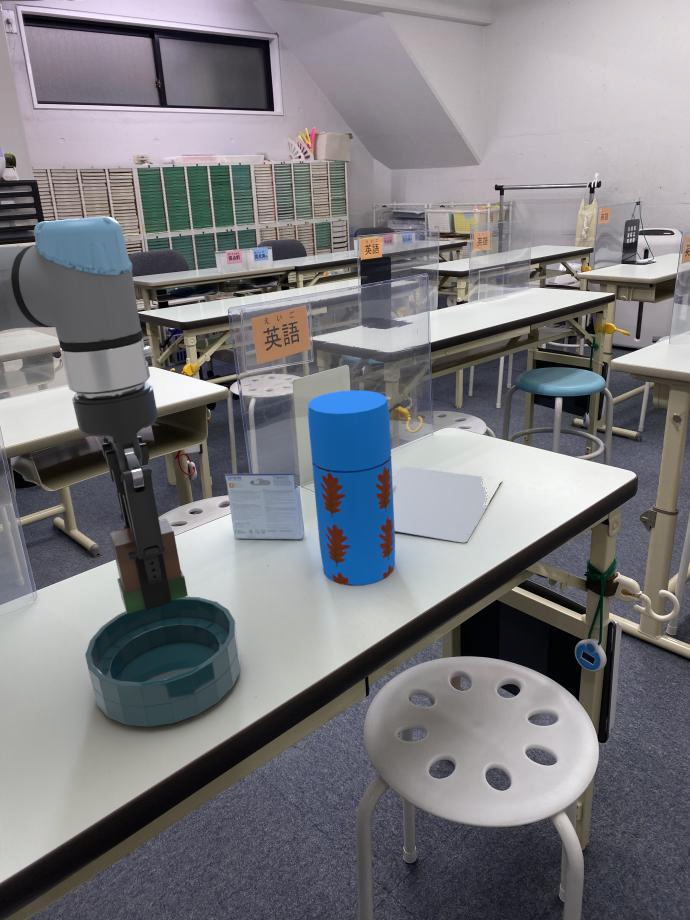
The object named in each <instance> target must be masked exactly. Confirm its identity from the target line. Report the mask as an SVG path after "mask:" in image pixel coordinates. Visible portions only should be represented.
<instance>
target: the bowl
mask: <svg viewBox="0 0 690 920" xmlns="http://www.w3.org/2000/svg"><path fill="white" fill-rule="evenodd" d="M85 661H86V664H87V665H86V666H87V670H88V673H89V677H90V682H91V685H92V689H93V694H94V697H95V701H96V705H97V707H98V708H99V710H100V711H102V712H103V714H105V716H106V717H107V718H108V719H111V720H113V721H116V722H118V723H120V724H124V725H126V726H136V727H137V726H138V727H151V728H152V727H156V726H162V725H170V724H175V723H178V722H180V721H184V720H186V719H189V718H192V717H195V716H197V715H200V714H201V713H203V712H204V711H206V710H208V709H209V708H211V707H212V706H214V705H215V704H217V703H218V702H220V701H221V699H223V698H224V696H225V695H226V694H227V693H228V692H229V691H230V690H231V689H232V688H233V687H234V685H235V683H236V681H237V679H238V676H239V675H240V672H241V652H240V645H239V639H238V633H237V626H236V620H235V618H234V616H233V615H232V613H231V612H230V610H229V609H228V608H226V607H225V606H224V605H222V604H221V603H219V602H218V601H215V600H211V599H207V598H205V597H200V596H186V597H182V598H179V599H176V600H172V603H169V604H166V605H162V606H159V607H156V608H152V609H149V610H146V609H142V610H139V611H136V612H132V613H129V614H127V612H126V610H125V611H123V612H121V613H119V614H117V615H115V616H114V617H113V618H112V619H110V620H109V621H107V622H106V623H104V624H103V625H102V626H101V627H100V628H99V629H98V631H96V632H95V634H94V635H93V636H92V638H91V639H90V640H89V643H88V646H87V649H86V652H85Z"/></svg>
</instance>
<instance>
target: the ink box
mask: <svg viewBox="0 0 690 920" xmlns="http://www.w3.org/2000/svg"><path fill="white" fill-rule="evenodd" d="M224 478H225V481H226V482H225V483H226V487H227V488H226V490H227V495H228V503H229V509H230V517H231V524H232V530H233V535H234V536H233V538H234V539H235V540H240V539H242V540H303V539H304V536H305V534H306V533H305V523H304V515H303V506H302V498H301V488H300V486H296V477H295V473H294V472H283V473H281V472H276V473H275V472H271V473H269V472H268V473H267V472H265V473H259V472H258V473H225V474H224ZM259 480H262V481H264V482H265V481H268V482H269V483H253V482H254V481H255V482H256V481H259Z"/></svg>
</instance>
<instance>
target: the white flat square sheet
mask: <svg viewBox="0 0 690 920" xmlns="http://www.w3.org/2000/svg"><path fill="white" fill-rule="evenodd" d="M482 477H483V476H481V475H473V474H466V473H465V474H464V473H457V472H449V471H443V470H434V469H427V468H426V469H425V468H418V467H410V466H401V467H399V469H398V470H397V471H396V472H395V473H394V474H392V484H393V506H394V528H395V533H401V534H402V533H403V534H409V535H413V536H420V537H426V538H432V539H437V540H443V541H448V542H455V543H460V544H465V543H468V542H469V539H470V538H471V536H472V534H473V533H474V531H475V529H476V528H477V526H478V525H479V522H480V520H481V519H482V517H483V516H484V514H485V512H486V510H487V509H488V507H486V505H483V504H484V502H485V504H486V502H487V499H488V498H485V497H487V496H488V495H487V496H486V495H485V494H487V492H486V491H485V487H483V486H482V485H483V481H482V480H483V478H482ZM481 478H482V479H481ZM481 482H482V484H481ZM486 489H487V488H486ZM484 491H485V492H484ZM489 498H490V497H489ZM485 500H486V501H485ZM483 506H484V507H483ZM485 507H486V508H487V509H486V508H485ZM485 509H486V510H485Z"/></svg>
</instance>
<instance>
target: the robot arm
mask: <svg viewBox="0 0 690 920" xmlns="http://www.w3.org/2000/svg"><path fill="white" fill-rule="evenodd" d="M33 231H34V239H35V241H34V242H35V243H34V244H30V245H21V246H19V245H18V246H15V245H14V246H0V332H5V331H8V330H15V329H32V328H33V329H34V328H55V331H56V335H57V340H58V343H59V350H60V355H61V359H62V364H63V368H64V373H65V377H66V380H67V381H66V382H67V386H68V389H69V390H70V391H71V392H74V393H75V394H74V395H73V397H72V405H73V409H74V414H75V419H76V423H77V426H78V427H77V428H78V430H79V431H80V432H81V433H82V434H84V435H85V436H89V437H94V438H95V437H97V438H103V439H102V442H103V443H101V444H100V445H101V451H102V455H103V457H104V460H105V461H106V464H107V467H108V472H109V473H108V474H109V476H110V479H111V482H113V483H114V489H115V493H116V498H117V502H118V507H119V511H120V516H119V517H120V520H121V521H122V522H123V524H124V526H123V529H127V528H130V529H131V533H132V538H133V542H134V546H135V550H134V551H132V552H128V555H129V558H130V560H132V559H135V561H136V566H137V571H138V575H139V580H140V585H141V590H142V594H143V599H144V604H145V608H146V610H149V609H152V608H156V607H159V606H162V605H166V604H169V603H172V600H171V595H170V589H169V584H168V579H167V574H166V569H165V564H164V559H163V554H162V553H165V546H164V544H163V540H162V535H161V529H160V524H159V520H160V519H159V514H158V509H157V503H156V497H155V491H154V487H153V478H152V474H153V472H152V467H151V466H150V465H149V460H150V454H149V448H148V445H147V443H146V442H143V438H142V435H140V436H139V435H138V433H139V432H140V431H141V430H142V429H143V430H144V429H147V428H149V427H151V426H152V425H153V424H154V423H156V422H157V419H158V417H159V416H158V415H159V414H158V413H159V412H158V408H157V403H156V397H155V393H154V391H155V390H154V386H153V385H151V384H150V382H148V380H149V379H150V378H151V374H150V369H149V362H148V361H147V360H146V358H148V357H151V356H152V355H153V349H152V347H151V346H149V345H147V346H146V345H145V342H144V335H143V329H142V327H141V322H140V315H139V309H138V304H137V298H136V297H137V296H136V289H135V283H134V276H133V262H132V261H131V260H130V257H129V253H128V249H127V245H126V240H125V236H124V231H123V228H122V226H121V224H120V223H119V222H118V220H116V219H115V218H113V217H110V216H95V217H94V216H93V217H83V218H67V219H57V220H46V221H40V222H38V223H37V224H36V225H35V226H34V230H33Z"/></svg>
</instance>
